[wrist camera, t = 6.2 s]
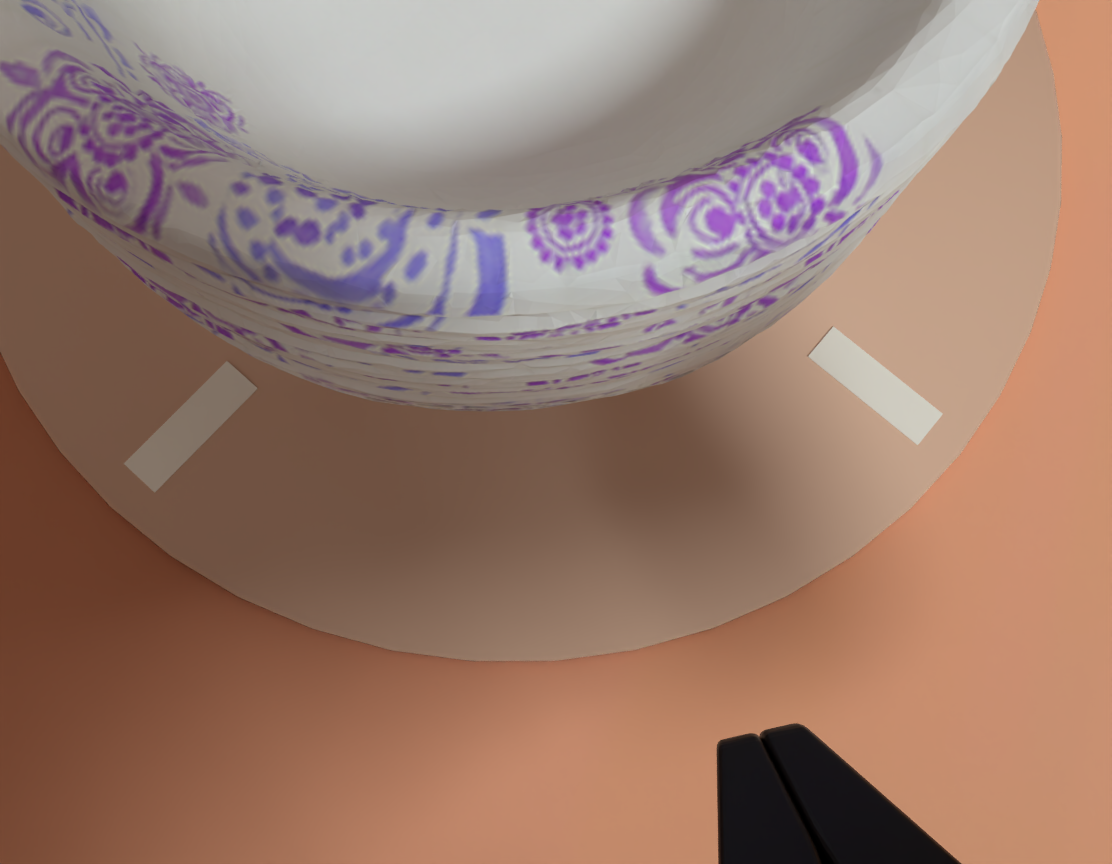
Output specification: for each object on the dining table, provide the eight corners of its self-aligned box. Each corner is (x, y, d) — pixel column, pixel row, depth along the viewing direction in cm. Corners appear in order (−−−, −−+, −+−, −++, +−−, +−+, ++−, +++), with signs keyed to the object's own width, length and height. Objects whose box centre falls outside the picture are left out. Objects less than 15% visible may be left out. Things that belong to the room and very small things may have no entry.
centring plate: (1261, 69, 20) (1269, 63, 20) (572, 941, 16) (573, 945, 16) (480, -482, 23) (479, -493, 22) (-274, 141, 19) (-283, 135, 18)
